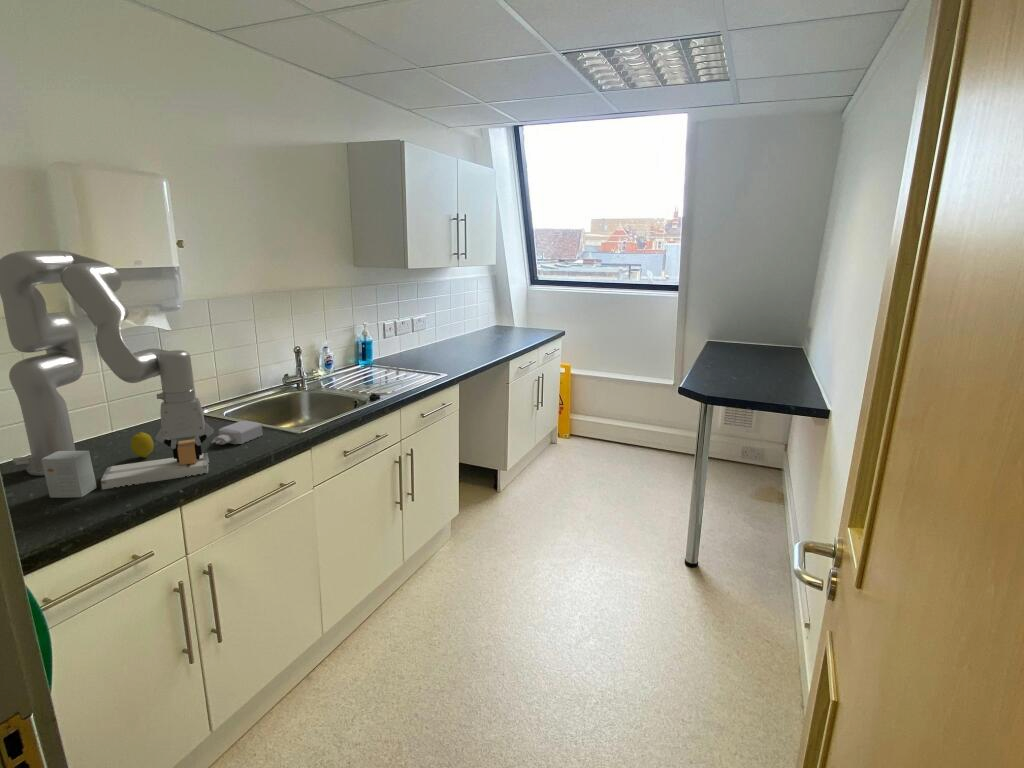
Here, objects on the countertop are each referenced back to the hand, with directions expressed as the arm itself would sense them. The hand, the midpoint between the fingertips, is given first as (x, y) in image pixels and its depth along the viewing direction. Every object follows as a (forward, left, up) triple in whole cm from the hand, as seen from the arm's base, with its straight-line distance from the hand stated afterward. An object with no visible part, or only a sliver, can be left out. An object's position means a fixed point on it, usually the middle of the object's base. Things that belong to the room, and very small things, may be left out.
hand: (188, 458), depth 154 cm
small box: (-26, -4, -4) cm, 26 cm away
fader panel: (-7, 0, -3) cm, 8 cm away
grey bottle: (+12, +20, -4) cm, 23 cm away
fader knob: (0, 0, -2) cm, 2 cm away
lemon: (-12, +16, -3) cm, 21 cm away
